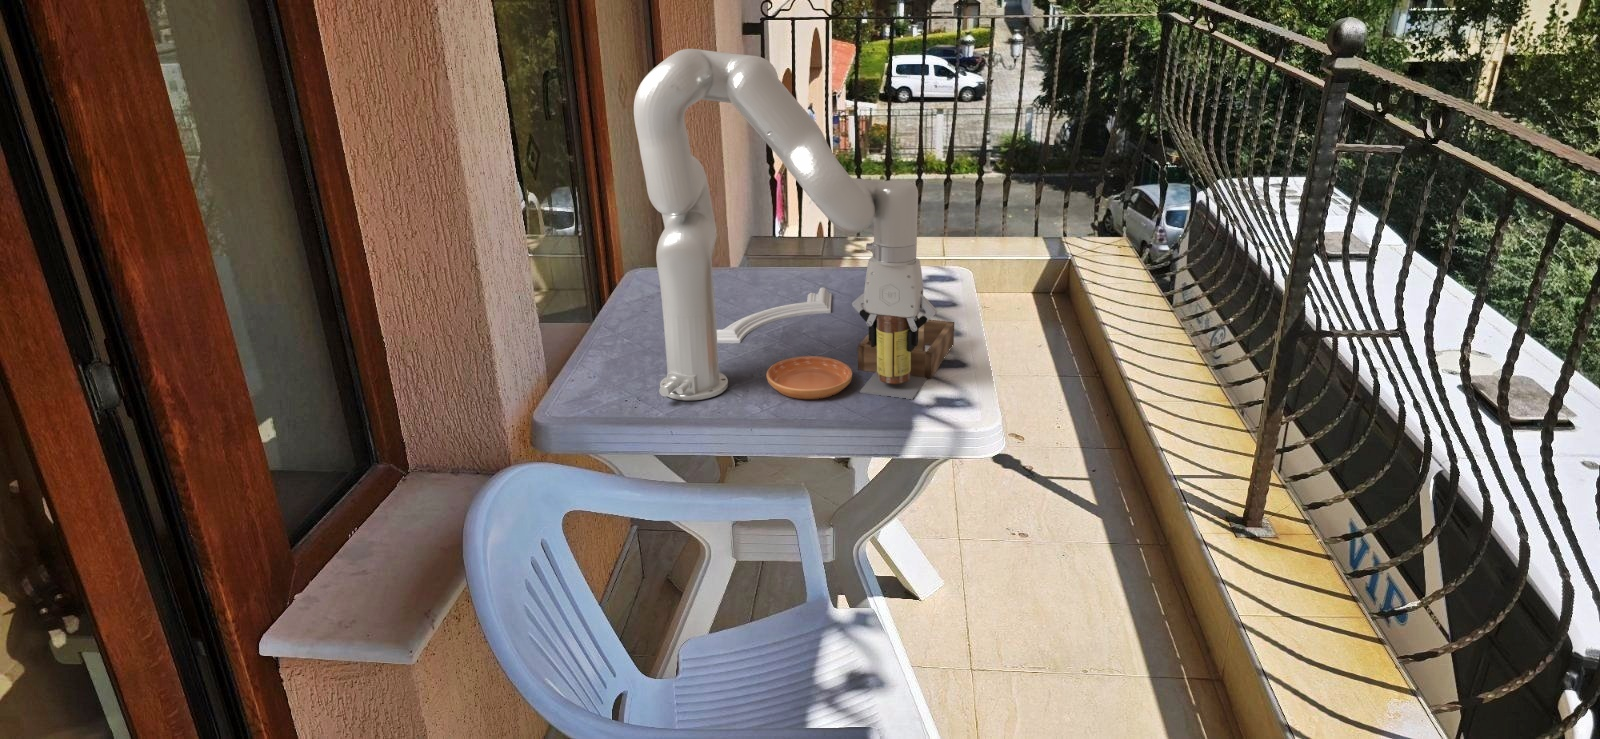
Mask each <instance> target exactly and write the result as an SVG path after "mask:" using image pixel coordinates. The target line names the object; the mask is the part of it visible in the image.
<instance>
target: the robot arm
mask: <svg viewBox="0 0 1600 739" xmlns="http://www.w3.org/2000/svg"><path fill="white" fill-rule="evenodd" d="M700 100H703V101H710V102H711V101H712V102H719V103H721V102H722V103H730V104H732V105H733V106H734V108H736V111H738V112H739V113H740V115H741V116H742V117H743V118H744V119H745V120H746V121H747V122H748V124H749V125H750V126H751V127H752V128H753V129H754V130H755V132H756V133H757V134H758V135H759V136H760V137H761V138H762V139H763V141H764V142H765V143H766V145H767V146H768V147H769V148H770V149H771V150H772V151H773V152H774V153H775V155H776V156H777V157H778V158H779V160H781V162H782V163H783V165H784V166H785V168H786V169H787V171H788V172H789V173H790V174H791V175H792V176H793V178H794V179H795V180H796V182H797V183H798V184H799V186H800V187H801V188H802V190H803V191H804V193H806V195H807V196H808V197H809V199H810V200H811V201H812V202H813V204H814V205H816V207H817V208H818V209H819V210H820V212H822V213H823V214H824V216H825V217H826V218H827V219H828V221H830V223H832V225H833V226H834V227H835V228H837V229H838V230H840V231H841V232H844V233H845V234H846V233H847V234H858V233H861V232H863V231H865V230H866V229H868V227H870V226H871V224H872V222H873V242H869V243H868V242H867V243H866V245H865V251H869V252H871V253H872V256H871V257H870V258H869V259H868V262H867V268H866V274H865V280H864V281H865V282H864V288H863V289H864V291H863V292H862V293H861V295H859V296H858V297H857V298H856V299H855V300H853V301H852V303H851V305H852V308H853V309H854V310H855V311H856V312H857V313H858V314H859V315H860V317H861V318H862V319H863V320H864V322H865V324H866V326H867V327H868V334H869V341H871V347H875V346H876V345H877V334H876V327H877V315H891V316H896V317H899V318H907V321H908V323H909V326H910V330H909V331H908V336H907V351H908V352H911V351H912V350H913V349H914V348H915V346H917V345H918V329H919V328H920V327H921V326H922V325H923V324H925V323H926V322H927V321H928V320H931V318H933V317H934V316H935V315H936V314H937V313H938V310H937V309H936V307H935V306H934V305H933V304H932V303H931V302H930V301H929V300H928V299H927V298H926V297H925V295H924V283H923V281H924V279H923V272H922V267H921V260H920V258H918V257H917V247H918V246H917V243H918V241H917V240H918V239H917V238H918V236H917V235H918V210H919V207H918V206H919V204H918V203H919V191H918V186H917V185H916V184H915V183H913V182H911V181H908V180H902V179H901V180H900V179H893V180H892V179H890V180H885V181H879V180H878V181H877V180H869V179H864V178H856V177H855V178H853V177H852V176H851V175H850V174H849V173H848V172H847V170H846V169H845V168H844V167H843V165H842V164H841V163H840V161H839V160H838V158H837V157H836V156H835V154H834V153H833V151H832V149H831V147H830V146H829V144H828V141H827V139H826V137H825V134H824V133H823V130H821V128H820V126H819V125H818V123H817V122H816V121H815V120H814V119H813V117H812V116H811V114H809V113H808V111H806V109H805V108H804V107H803V106H802V105H801V104H800V103H799V101H798V100H797V99H796V97H794V96H793V94H792V93H791V92H790V91H789V89H788V88H787V87H786V86H785V85H784V83H783V82H782V81H781V80H780V79H779V75H778V72H777V70H776V68H775V67H774V65H773V64H772V63H771V62H770V61H769V60H767V59H766V58H764V57H761V56H758V55H750V54H740V53H739V54H738V53H730V52H723V51H715V50H707V49H697V48H685V49H680V50H678V51H676V52H674V53H673V54H671V55H669V56H667V58H665V59H664V60H663V61H661V62H660V63H658V65H656V66H655V67H654V68H652V69H651V70H650V71H649V72H648V73H647V74H646V75H645V77H644V78H643V79H642V81H641V82H640V84H639V86H638V89H637V90H636V92H635V96H634V101H633V119H634V125H635V131H636V132H635V133H636V135H637V136H636V138H637V141H638V147H639V153H640V159H641V163H642V168H643V173H644V179H645V185H646V191H647V195H648V199H649V201H650V203H651V205H652V206H653V208H655V210H656V211H658V212H659V213H660V214H661V216H662V217H661V218H662V222H663V226H664V229H663V230H662V233H661V234H660V237H659V239H658V241H657V246H656V254H655V255H656V256H655V258H656V259H655V260H656V267H657V274H658V279H659V280H658V281H659V287H660V296H661V305H662V306H661V308H662V309H661V310H662V318H663V329H664V333H663V334H664V343H665V355H666V356H665V357H666V370H667V372H666V373H667V374H666V376H665V377H664V378H663V379H661V381H660V383H659V387H660V388H659V390H658V392H659V394H660V395H661V396H662V397H664V398H665V397H668V398H670V399H673V400H678V401H700V400H707V399H710V398H714V397H716V396H719V395H721V394H723V393H724V392H725V391H727V389H728V387H729V380H728V378H727V376H726V375H725V374H723V373H721V372H720V366H719V364H720V363H719V349H718V348H719V347H718V343H717V330H718V329H717V314H716V300H715V285H714V283H715V282H714V277H713V263H712V260H713V253H714V250H715V247H716V244H717V239H718V238H717V237H718V234H717V225H716V219H715V215H714V209H713V203H712V199H711V198H712V197H711V192H710V187H709V183H708V177H707V174H706V172H705V169H704V166H703V165H702V163H701V162H700V161H699V159H698V158H696V157H695V156H694V155H692V152H691V147H690V140H689V134H688V130H687V126H686V122H685V114H686V112H687V110H688V108H690V107H691V106H693V105H694V104H696V103H697V102H699V101H700ZM921 310H924V311H925V313H924V314H923V315H921V316H920V317H919V313H920V311H921Z"/></svg>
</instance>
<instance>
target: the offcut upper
mask: <svg viewBox="0 0 1600 739" xmlns="http://www.w3.org/2000/svg"><path fill="white" fill-rule="evenodd" d="M923 346H924V324H923V325H922V326H921V327H920V328H919V329H918V345H917V346H915V348H914V349H913V350H919V351H923Z"/></svg>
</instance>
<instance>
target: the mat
mask: <svg viewBox="0 0 1600 739" xmlns="http://www.w3.org/2000/svg"><path fill="white" fill-rule="evenodd" d="M926 381H927V378H925V377H917V376H910V379H909V380H908V381H907V382H905V383H902V384H888V383H883V382H882V381H880V380H879V378H878V373H877V371H876V372H873V374H872V375H871V377H870V378H869V379H868V380H867V381H866V383H865V384H864V385H863V387H862V388H861V389H860V390H859V394H866V395H872V396H879V395H881V397H887V396H891V397H890V398H894V397H899V398H898V399H902V398H906V399H905V400H909V399H911V401H913V400H914V399H913V398H915V397H916V396H917V394H918V393H919V391H920V389H921V388H922V387H923V386H924V384H925V382H926Z"/></svg>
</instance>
